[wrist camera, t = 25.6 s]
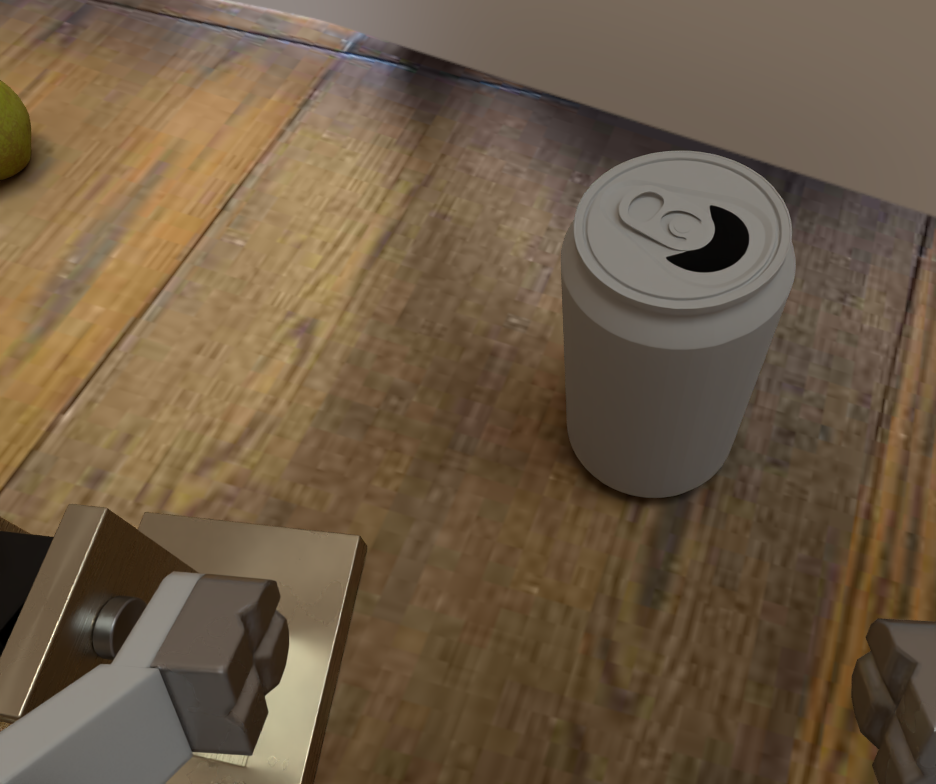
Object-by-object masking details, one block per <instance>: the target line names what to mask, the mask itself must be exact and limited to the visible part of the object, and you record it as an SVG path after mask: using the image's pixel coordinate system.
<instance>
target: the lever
mask: <svg viewBox="0 0 936 784" xmlns="http://www.w3.org/2000/svg"><path fill="white" fill-rule="evenodd" d="M53 538H54V537H49V536H41V535H33V534H24V533H16V532H8V531H0V657H1V654H2V652H3V650H4V648H5V645H6V643H7V641H8V639H9V636H10V634H11V632H12V630H13V627H14V625H15V623H16V621H17V619H18V616H19V614H20V612H21V610H22V607H23V605H24V603H25V601H26V598H27V596H28V594H29V592H30V589H31V587H32V585H33V583H34V580H35V578H36V576H37V574H38V571H39V569H40V567H41V565H42V563H43V560H44V558H45V556H46V554H47V551H48V549H49V547H50V545H51V542H52V540H53Z"/></svg>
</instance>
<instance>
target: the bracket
mask: <svg viewBox="0 0 936 784" xmlns="http://www.w3.org/2000/svg"><path fill="white" fill-rule="evenodd" d="M0 531H8V532H16V533H24V534H30V533H28V532H27V531H25V530H23V529H21V528H19V527H18V526H16V525H14V524H12V523H10V522H9V521H7V520H5V519H3V518H2V517H0ZM366 550H367V545H366V543H365V542H364V541H363V539H362V538H361V536H359V535H351V534H342V533H333V532H324V531H315V530H306V529H296V528H287V527H278V526H269V525H260V524H251V523H242V522H233V521H224V520H215V519H205V518H196V517H187V516H178V515H169V514H160V513H151V512H145V513H144V515H143V518H142V520H141V523H140V525H139V528H138V530H137V529H136V528H135V527H133V526H132V525H130V524H129V523H128V522H126V521H125V520H123V519H122V518H120V517H119V516H118V515H116V514H115V513H113V512H112V511H111V510H109V509H108V508H104V507H95V506H86V505H77V504H69V505H68V507H67V509H66V511H65V513H64V515H63V518H62V520H61V522H60V524H59V527H58V529H57V531H56V533H55V536H54V538H53V540H52V542H51V545H50V547H49V549H48V551H47V554H46V556H45V558H44V560H43V563H42V565H41V567H40V569H39V571H38V574H37V576H36V578H35V580H34V583H33V585H32V587H31V589H30V592H29V594H28V596H27V598H26V601H25V603H24V605H23V607H22V610H21V612H20V614H19V616H18V619H17V621H16V623H15V625H14V627H13V630H12V632H11V634H10V636H9V639H8V641H7V643H6V645H5V648H4V650H3V652H2V654H1V657H0V722H5V723H10V724H13V723H14V722H16V721H17V720H19V719H20V718H22V717H23V716H25V715H26V714H28V713H29V712H31V711H32V710H33V709H35V708H36V707H38V706H39V705H41V704H42V703H44V702H45V701H47V700H48V699H50V698H51V697H53V696H54V695H56V694H57V693H59V692H60V691H61V690H63V689H64V688H66V687H67V686H69V685H70V684H72V683H73V682H75V681H76V680H78V679H79V678H81V677H82V676H84V675H85V674H87V673H88V672H89V671H91V670H92V669H94V668H95V667H97V666H98V665H100V664H111V663H112V662H113V660H114V658H115V657H116V655H117V653H118V652H119V650H120V648H121V647H122V645H123V644H124V642H125V640H126V639H127V637H128V635H129V634H130V632H131V631H132V629H133V627H134V626H135V624H136V622H137V621H138V619H139V618H140V616H141V614H142V613H143V611H144V609H145V608H146V606H147V605H148V603H149V601H150V600H151V598H152V596H153V595H154V593H155V592H156V590H157V588H158V587H159V585H160V583H161V582H162V580H163V579H164V578H165V577H166V576H168V575H169V574H170V573H172V572H173V571H177V572H189V573H201V574H216V575H227V576H238V577H248V578H259V579H270V580H274V581H276V582H277V585H278V589H279V592H280V595H281V598H280V601H279V603H278V606H277V608H276V610H277V611H279V612H280V613H281V614H282V615H283V616H284V617H285V618H286V619H287V624H288V628H289V651H288V657H287V662H286V667H285V670H284V673H283V675H282V678H281V681H280V684H279V685H278V686H277V687H275V688H274V689H273V690H272V691H270V692H269V693H268V694H267V695H266V696H264V697H265V700H266V704H267V707H268V711H269V713H268V716H267V718H266V721H265V723H264V726H263V729H262V731H261V734H260V736H259V739H258V742H257V744H256V747H255V749H254V752H253V755H252V756H246V755H231V754H216V753H201V752H192V753H193V757H192V758H191V759H190V760H189V761H187V762H186V763H185V764H184V765H183V766H182V767H181V768H180V769H179V770H178V771H177V772H176V773H175V774H174V775H173V776H172V777H171V778H170V779H169V780H168V781H167V782H166V783H165V784H313V781H314V777H315V773H316V768H317V764H318V759H319V755H320V751H321V746H322V742H323V738H324V733H325V729H326V725H327V720H328V716H329V711H330V707H331V703H332V698H333V694H334V690H335V685H336V681H337V677H338V672H339V668H340V663H341V659H342V655H343V650H344V646H345V642H346V637H347V633H348V629H349V624H350V620H351V615H352V611H353V607H354V602H355V598H356V594H357V589H358V585H359V581H360V576H361V572H362V567H363V563H364V559H365V554H366Z"/></svg>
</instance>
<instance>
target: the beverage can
mask: <svg viewBox="0 0 936 784" xmlns="http://www.w3.org/2000/svg"><path fill="white" fill-rule="evenodd" d="M791 237H792V226H791V220H790V215H789V212H788V209H787V207H786V205H785V203H784V201H783V199H782V198H781V196H780V195H779V193H778V192H777V191H776V190H775V188H774V187H773V186H772V185H771V184H770V183H769V182H768V181H767V180H766V179H764V178H763V177H762V176H761V175H759V174H758V173H756V172H755V171H753V170H752V169H750V168H748V167H746V166H744V165H742V164H740V163H738V162H736V161H734V160H731V159H728V158H725V157H721V156H718V155H714V154H709V153H703V152H695V151H666V152H658V153H652V154H647V155H644V156H640V157H637V158H634V159H631V160H628V161H626V162H624V163H621V164H619V165H617V166H615V167H614V168H612V169H610V170H609V171H607V172H606V173H604V174H603V175H602V176H600V177H599V178H598V179H597V180H596V181H595V182H594V183H593V184H592V185H591V186H590V187H589V188H588V190H587V191H586V192H585V194H584V195H583V197H582V198H581V200H580V202H579V204H578V207H577V210H576V213H575V218H574V220H573V222H572V223H571V225H570V227H569V229H568V231H567V233H566V235H565V238H564V241H563V245H562V250H561V280H562V307H563V333H564V359H565V386H566V412H567V430H568V436H569V440H570V443H571V445H572V448H573V450H574V452H575V454H576V456H577V457H578V459H579V460H580V462H581V463H582V464H583V466H584V467H585V468H586V469H587V470H588V471H589V472H590V473H591V474H592V475H593V476H594V477H596V478H597V479H598V480H599V481H601V482H602V483H604V484H605V485H607V486H609V487H611V488H613V489H615V490H617V491H620V492H623V493H626V494H629V495H633V496H638V497H645V498H663V497H670V496H676V495H679V494H682V493H685V492H687V491H690V490H692V489H694V488H696V487H699V486H700V485H702V484H703V483H705V482H706V481H708V480H709V479H710V478H711V477H712V476H713V475H714V474H716V472H717V471H718V470H719V469H720V468H721V466H722V465H723V464H724V462H725V460H726V458H727V457H728V455H729V452H730V450H731V447H732V445H733V442H734V439H735V437H736V434H737V431H738V429H739V426H740V423H741V421H742V418H743V415H744V413H745V410H746V407H747V405H748V402H749V399H750V397H751V394H752V391H753V389H754V386H755V383H756V381H757V378H758V375H759V373H760V370H761V367H762V365H763V362H764V359H765V357H766V354H767V351H768V349H769V346H770V343H771V341H772V338H773V335H774V333H775V330H776V327H777V325H778V322H779V319H780V317H781V314H782V311H783V309H784V306H785V304H786V301H787V298H788V296H789V293H790V290H791V287H792V284H793V281H794V277H795V266H796V262H795V253H794V248H793V244H792V241H791Z"/></svg>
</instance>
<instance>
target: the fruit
mask: <svg viewBox="0 0 936 784" xmlns="http://www.w3.org/2000/svg"><path fill="white" fill-rule="evenodd" d="M30 157H31V124H30V118H29V114H28V112H27V109H26V107H25V106H24V104H23V103H22V101H21V100H20V98H19V97H18V95H17V94H16V93H15V92H14V91H13V90H12V89H11V88H10V87H9V86H7V85H6V84H5V83H4V82H2V81H1V80H0V180H3V179H6V178H9V177H11V176H13V175H15V174H17V173H18V172H20V171H21V170H22V169H23V168H24V167H25V166H26V165H27V164H28V162H29V160H30Z"/></svg>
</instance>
